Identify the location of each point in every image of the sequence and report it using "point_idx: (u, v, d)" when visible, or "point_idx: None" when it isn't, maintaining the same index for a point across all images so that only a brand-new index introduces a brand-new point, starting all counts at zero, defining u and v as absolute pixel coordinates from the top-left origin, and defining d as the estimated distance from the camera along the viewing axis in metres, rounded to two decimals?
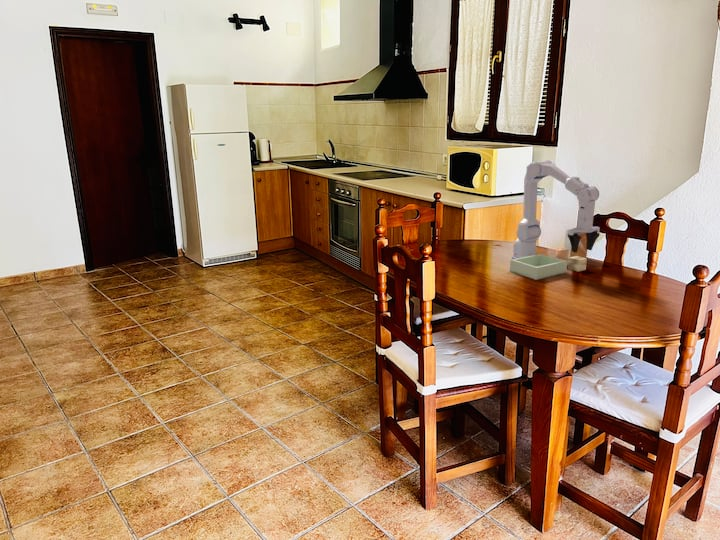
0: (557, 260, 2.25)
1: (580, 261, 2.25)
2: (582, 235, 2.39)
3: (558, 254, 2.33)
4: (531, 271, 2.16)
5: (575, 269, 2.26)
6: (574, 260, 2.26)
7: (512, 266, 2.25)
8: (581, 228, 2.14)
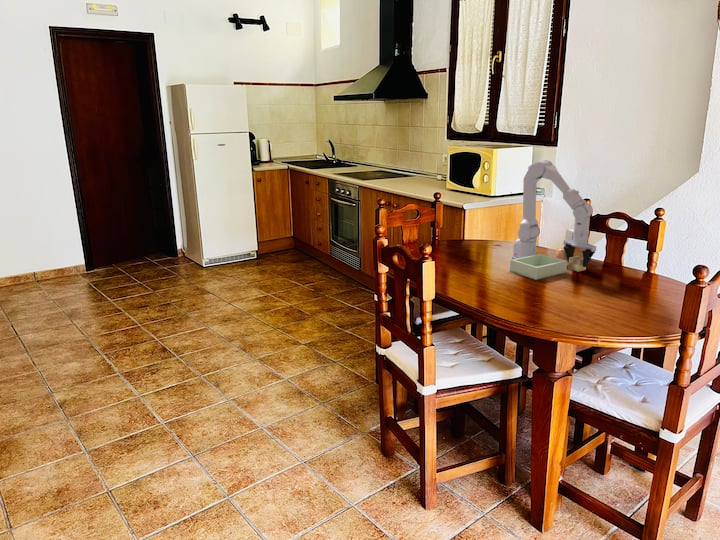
0: (557, 260, 2.25)
1: (580, 261, 2.25)
2: None
3: (558, 254, 2.33)
4: (531, 271, 2.16)
5: (575, 269, 2.26)
6: (574, 260, 2.26)
7: (512, 266, 2.25)
8: None
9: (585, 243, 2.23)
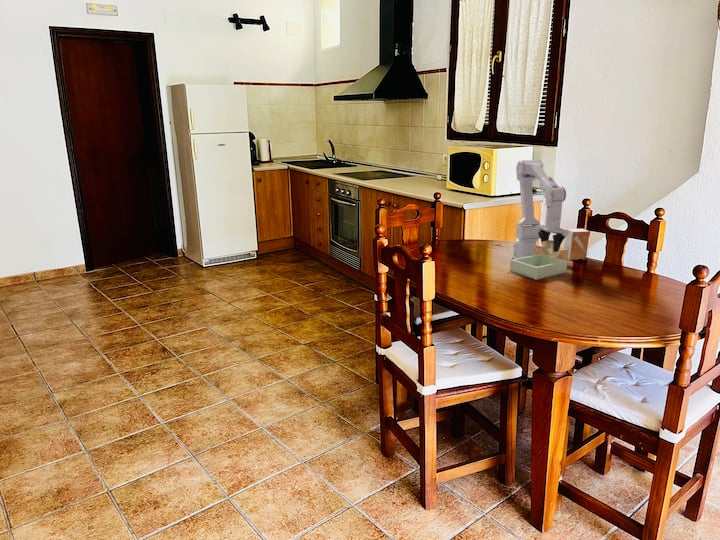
0: (557, 260, 2.25)
1: (553, 245, 2.19)
2: (582, 235, 2.39)
3: (558, 254, 2.33)
4: (531, 271, 2.16)
5: (548, 253, 2.21)
6: (547, 244, 2.20)
7: (512, 266, 2.25)
8: None
9: (558, 228, 2.17)
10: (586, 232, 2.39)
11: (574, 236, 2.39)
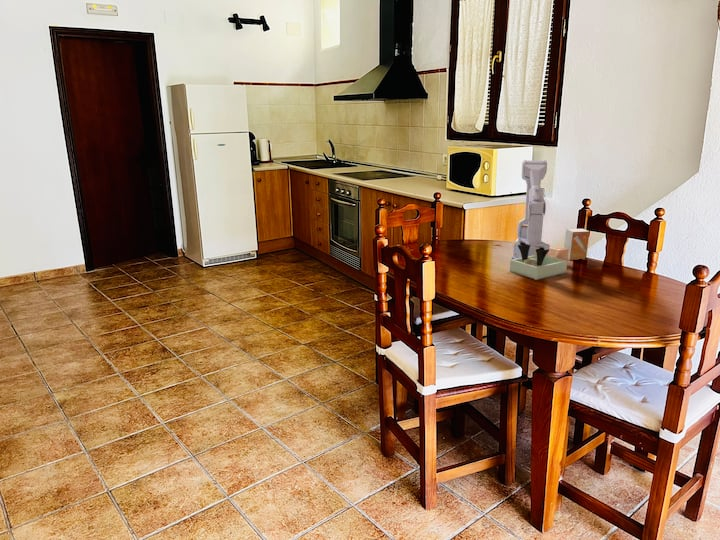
0: (557, 260, 2.25)
1: (534, 263, 2.19)
2: (582, 235, 2.39)
3: (558, 254, 2.33)
4: (531, 271, 2.16)
5: None
6: (528, 262, 2.20)
7: (512, 266, 2.25)
8: None
9: (539, 241, 2.17)
10: (586, 232, 2.39)
11: (574, 236, 2.39)
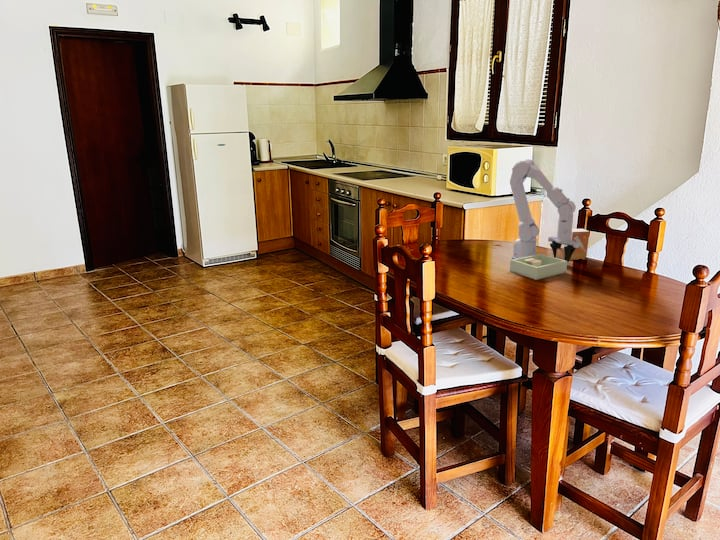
0: (557, 260, 2.25)
1: (534, 263, 2.19)
2: (582, 235, 2.39)
3: (558, 254, 2.33)
4: (531, 271, 2.16)
5: None
6: (528, 262, 2.20)
7: (512, 266, 2.25)
8: None
9: (569, 240, 2.30)
10: (586, 232, 2.39)
11: (574, 236, 2.39)
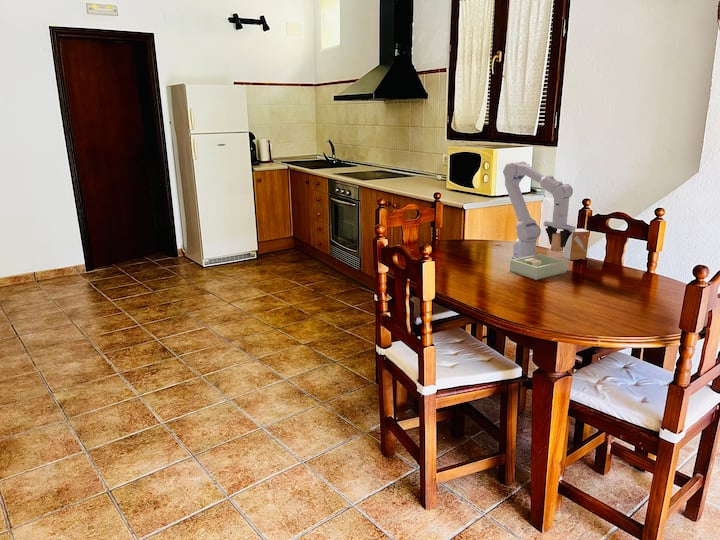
0: (557, 260, 2.25)
1: (534, 263, 2.19)
2: (582, 235, 2.39)
3: (554, 239, 2.27)
4: (531, 271, 2.16)
5: None
6: (528, 262, 2.20)
7: (512, 266, 2.25)
8: None
9: (564, 224, 2.24)
10: (586, 232, 2.39)
11: (574, 236, 2.39)
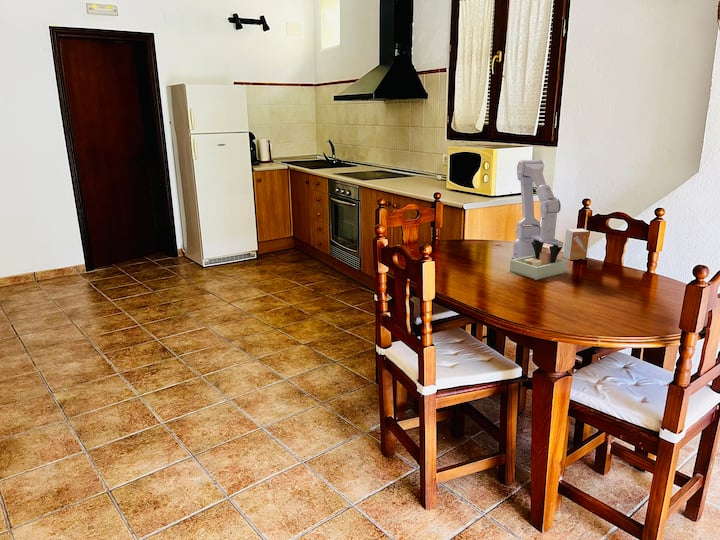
0: (557, 260, 2.25)
1: (534, 263, 2.19)
2: (582, 235, 2.39)
3: (541, 258, 2.24)
4: (531, 271, 2.16)
5: None
6: (528, 262, 2.20)
7: (512, 266, 2.25)
8: None
9: (552, 239, 2.21)
10: (586, 232, 2.39)
11: (574, 236, 2.39)
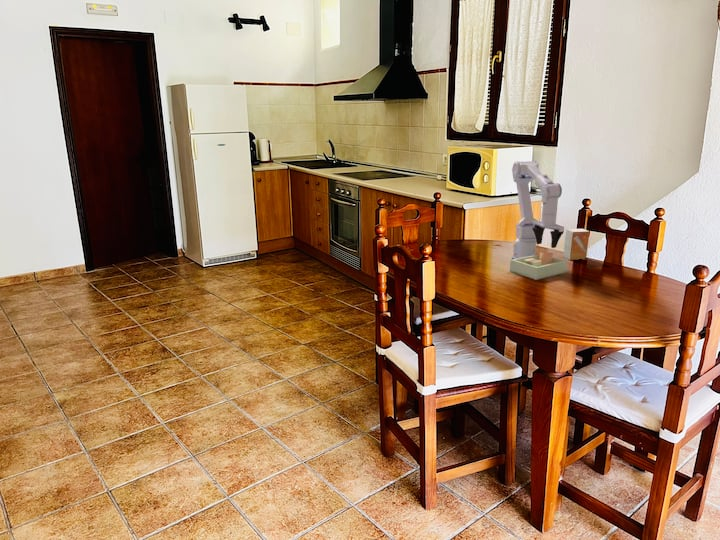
0: (557, 260, 2.25)
1: (534, 263, 2.19)
2: (582, 235, 2.39)
3: (542, 258, 2.24)
4: (531, 271, 2.16)
5: None
6: (528, 262, 2.20)
7: (512, 266, 2.25)
8: None
9: (553, 224, 2.20)
10: (586, 232, 2.39)
11: (574, 236, 2.39)
